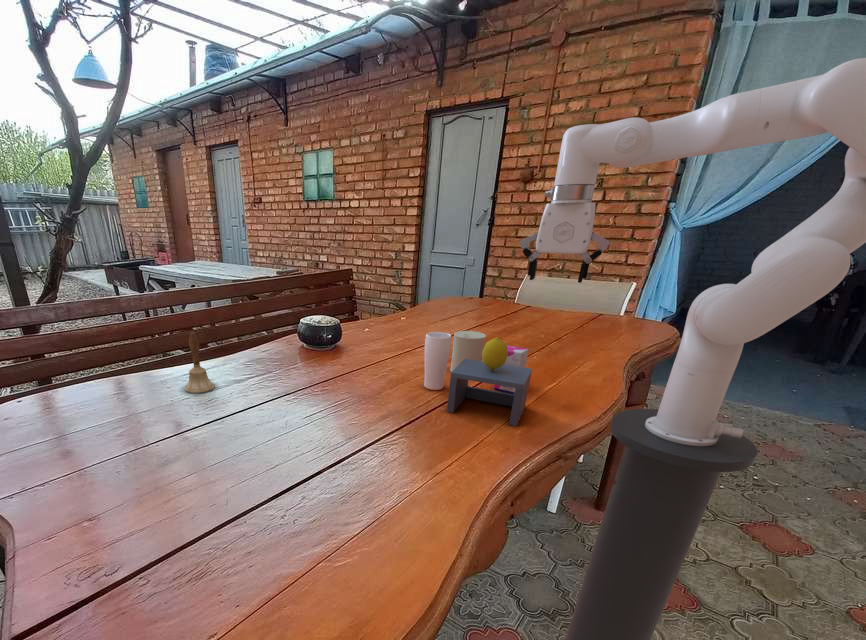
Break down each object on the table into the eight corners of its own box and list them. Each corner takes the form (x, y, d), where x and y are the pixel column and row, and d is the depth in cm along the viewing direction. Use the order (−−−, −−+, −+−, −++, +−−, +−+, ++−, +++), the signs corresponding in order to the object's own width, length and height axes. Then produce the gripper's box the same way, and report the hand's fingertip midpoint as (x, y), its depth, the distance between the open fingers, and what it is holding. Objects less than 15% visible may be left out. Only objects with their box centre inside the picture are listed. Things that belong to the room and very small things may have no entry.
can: (444, 371, 130) (448, 333, 125) (458, 364, 136) (462, 327, 132) (473, 378, 124) (478, 338, 120) (486, 370, 131) (491, 332, 126)
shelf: (524, 407, 105) (532, 368, 101) (516, 426, 96) (524, 384, 92) (460, 395, 113) (464, 358, 109) (446, 411, 103) (450, 372, 99)
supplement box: (522, 388, 117) (529, 348, 112) (514, 394, 113) (521, 353, 108) (501, 383, 120) (507, 344, 116) (493, 389, 116) (499, 349, 112)
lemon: (501, 366, 102) (506, 334, 99) (507, 374, 97) (513, 340, 94) (477, 366, 103) (482, 334, 100) (483, 374, 98) (487, 340, 95)
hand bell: (218, 382, 124) (211, 328, 117) (209, 393, 116) (202, 336, 110) (190, 382, 124) (181, 328, 118) (180, 393, 116) (170, 336, 110)
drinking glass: (416, 388, 118) (420, 335, 112) (428, 381, 123) (432, 330, 117) (439, 393, 114) (444, 339, 108) (450, 386, 119) (456, 334, 113)
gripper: (524, 196, 89) (511, 280, 96) (621, 193, 81) (599, 285, 88) (529, 197, 95) (517, 276, 102) (621, 194, 87) (600, 281, 94)
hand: (555, 280), depth 95 cm, fingers open, 9 cm apart
